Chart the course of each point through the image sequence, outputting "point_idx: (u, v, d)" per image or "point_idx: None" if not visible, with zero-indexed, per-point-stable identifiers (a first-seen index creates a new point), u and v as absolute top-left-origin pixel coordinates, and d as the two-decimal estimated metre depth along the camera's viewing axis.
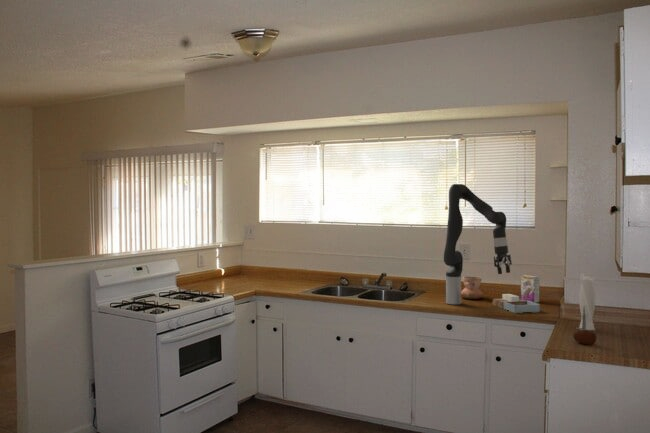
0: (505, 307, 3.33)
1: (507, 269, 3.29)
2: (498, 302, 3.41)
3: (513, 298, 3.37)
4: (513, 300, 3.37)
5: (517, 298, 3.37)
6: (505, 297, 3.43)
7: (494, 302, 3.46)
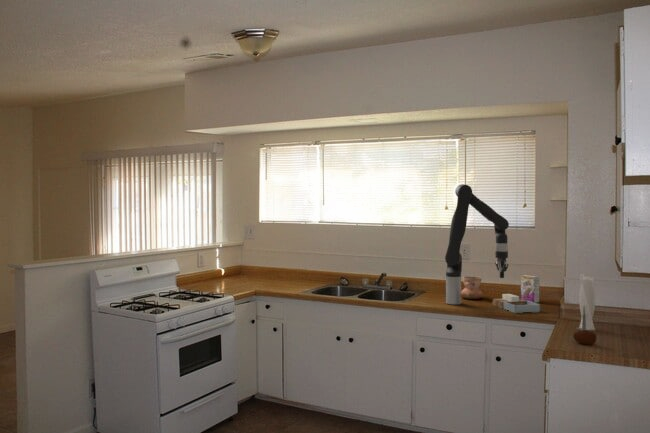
0: (505, 307, 3.33)
1: None
2: (498, 302, 3.41)
3: (513, 298, 3.37)
4: (513, 300, 3.37)
5: (517, 298, 3.37)
6: (505, 297, 3.43)
7: (494, 302, 3.46)
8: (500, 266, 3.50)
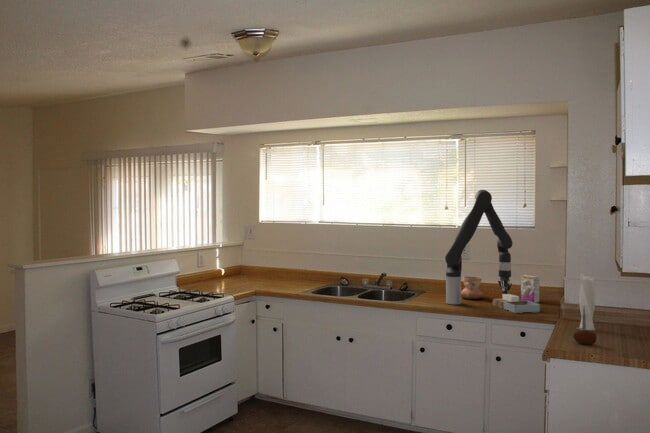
0: (505, 307, 3.33)
1: (504, 293, 3.49)
2: (498, 302, 3.41)
3: (513, 298, 3.37)
4: (513, 300, 3.37)
5: (517, 298, 3.37)
6: (505, 297, 3.43)
7: (494, 302, 3.46)
8: (503, 285, 3.47)
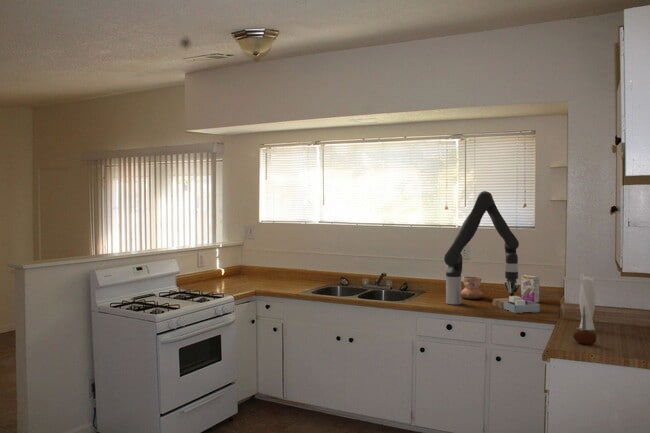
0: (505, 307, 3.33)
1: (511, 295, 3.41)
2: (498, 302, 3.41)
3: None
4: None
5: None
6: (512, 299, 3.35)
7: (494, 302, 3.46)
8: (510, 287, 3.39)
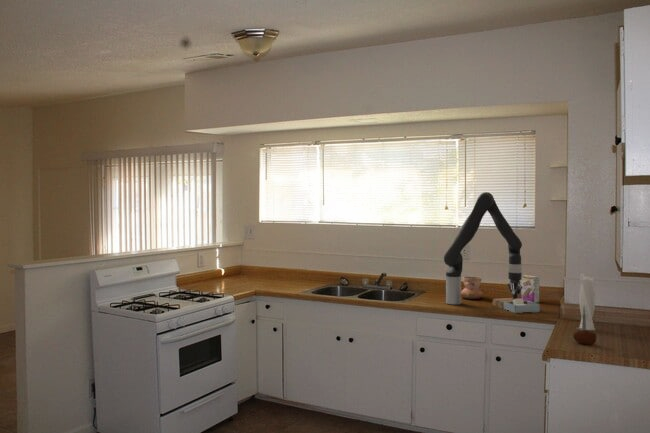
0: (505, 307, 3.33)
1: None
2: (498, 302, 3.41)
3: None
4: None
5: None
6: None
7: (494, 302, 3.46)
8: (513, 288, 3.35)
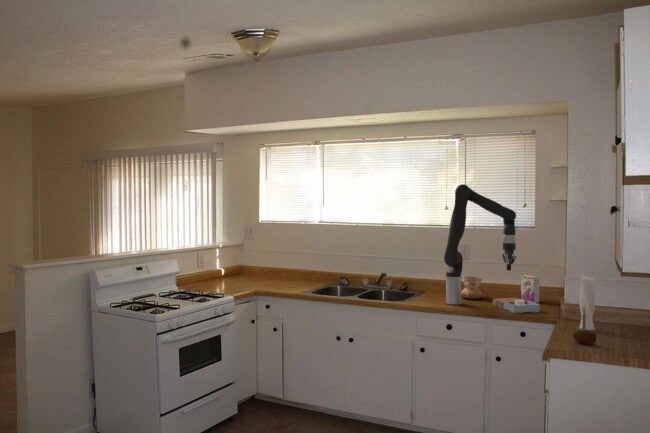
0: (505, 307, 3.33)
1: None
2: (498, 302, 3.41)
3: None
4: None
5: None
6: None
7: (494, 302, 3.46)
8: (507, 258, 3.42)
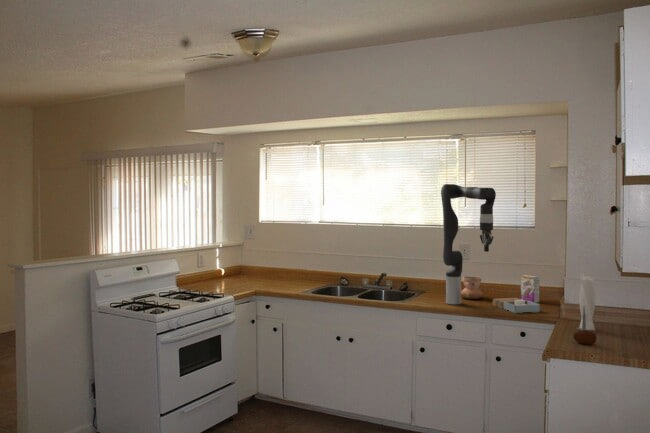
0: (505, 307, 3.33)
1: None
2: (498, 302, 3.41)
3: None
4: None
5: None
6: None
7: (494, 302, 3.46)
8: (485, 239, 3.26)
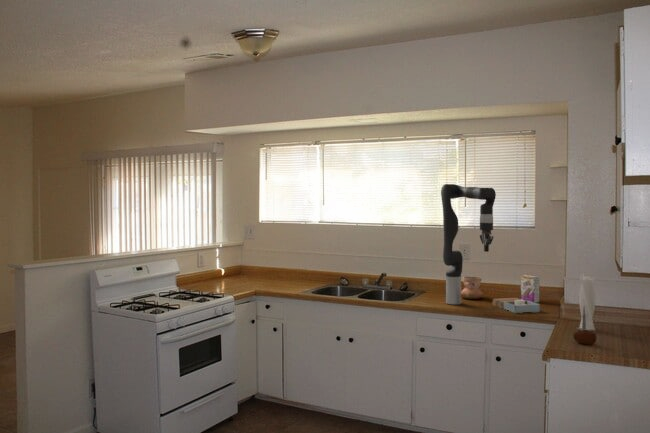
0: (505, 307, 3.33)
1: None
2: (498, 302, 3.41)
3: None
4: None
5: None
6: None
7: (494, 302, 3.46)
8: (484, 239, 3.26)
